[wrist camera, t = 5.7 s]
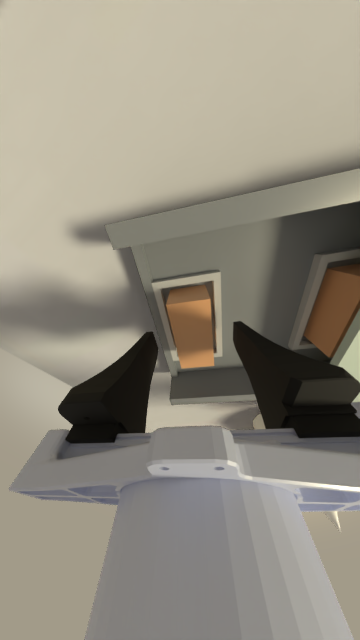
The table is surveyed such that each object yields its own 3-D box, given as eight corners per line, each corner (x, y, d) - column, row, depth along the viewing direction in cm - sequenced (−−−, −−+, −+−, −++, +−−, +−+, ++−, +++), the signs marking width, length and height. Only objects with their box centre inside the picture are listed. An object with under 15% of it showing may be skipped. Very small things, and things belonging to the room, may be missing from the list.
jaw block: (209, 343, 16) (214, 365, 14) (182, 346, 17) (181, 368, 14) (205, 284, 13) (210, 298, 10) (170, 289, 13) (166, 304, 10)
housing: (334, 359, 18) (374, 393, 14) (174, 372, 21) (171, 405, 17) (444, 160, 9) (646, 104, 5) (132, 227, 11) (104, 225, 8)
